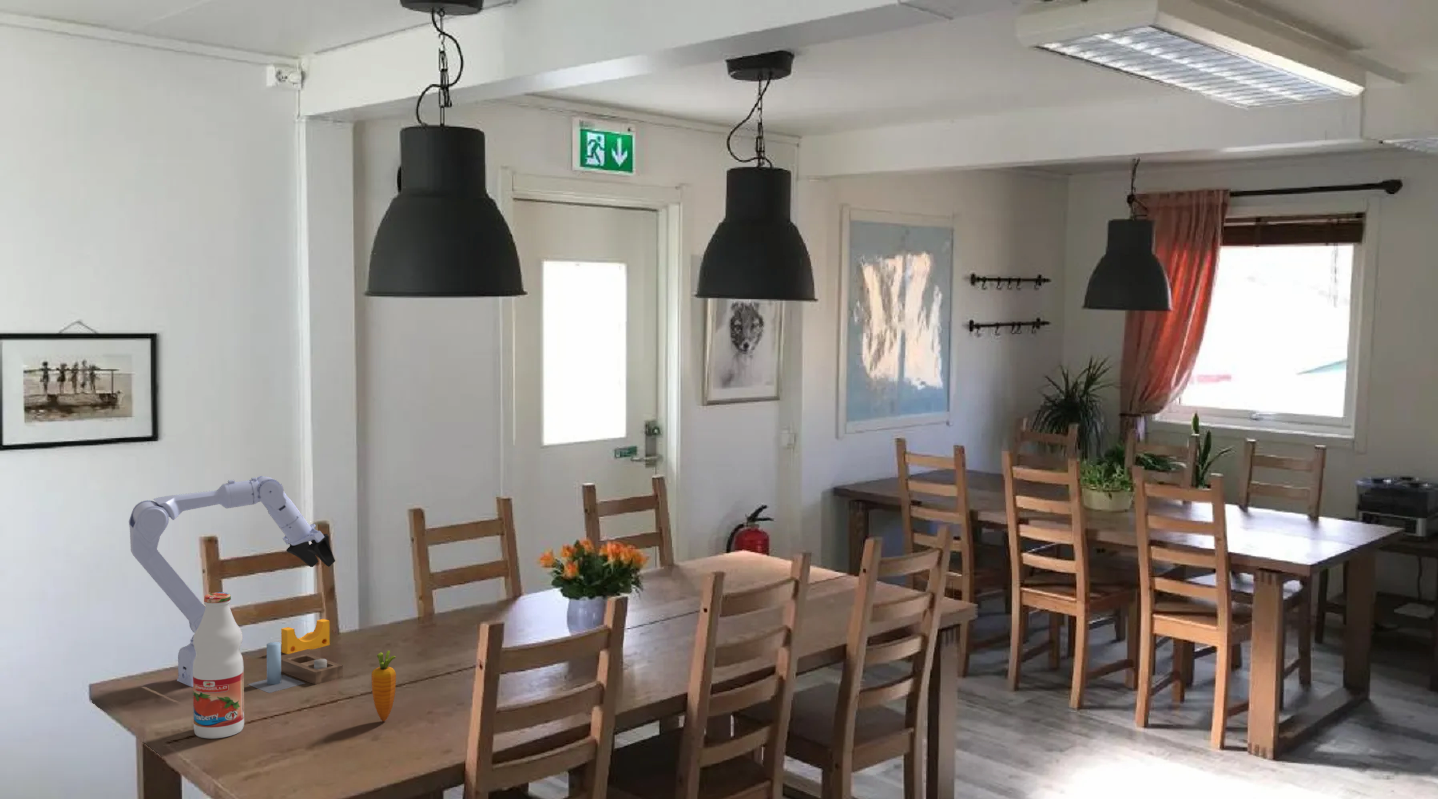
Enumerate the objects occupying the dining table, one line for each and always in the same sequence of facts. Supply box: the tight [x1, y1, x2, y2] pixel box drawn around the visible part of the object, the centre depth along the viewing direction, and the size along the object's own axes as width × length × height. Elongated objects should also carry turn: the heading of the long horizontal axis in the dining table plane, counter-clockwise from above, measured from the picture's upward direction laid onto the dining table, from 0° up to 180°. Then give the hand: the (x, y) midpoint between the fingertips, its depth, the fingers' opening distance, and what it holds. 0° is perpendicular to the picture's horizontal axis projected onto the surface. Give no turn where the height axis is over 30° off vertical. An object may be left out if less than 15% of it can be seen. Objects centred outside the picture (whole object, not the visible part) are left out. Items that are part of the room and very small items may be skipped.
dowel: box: [266, 641, 282, 685], centre depth 266 cm, size 3×3×9 cm
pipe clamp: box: [280, 618, 331, 655], centre depth 294 cm, size 12×4×6 cm, turn 144°
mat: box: [247, 674, 306, 694], centre depth 265 cm, size 9×9×1 cm
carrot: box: [371, 650, 397, 723], centre depth 244 cm, size 5×5×15 cm
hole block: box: [281, 653, 344, 686], centre depth 272 cm, size 7×14×4 cm, turn 52°
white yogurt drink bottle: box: [192, 591, 245, 740], centre depth 236 cm, size 9×9×28 cm
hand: (323, 564), depth 281 cm, fingers open, 7 cm apart
